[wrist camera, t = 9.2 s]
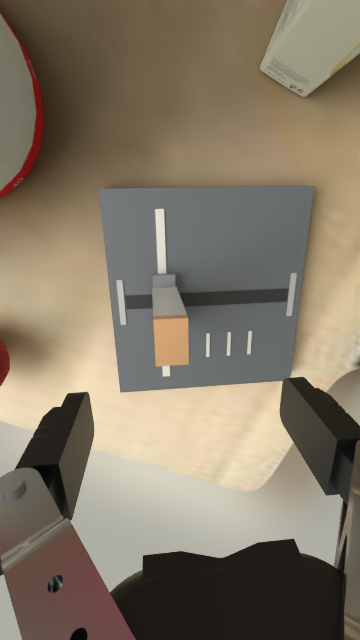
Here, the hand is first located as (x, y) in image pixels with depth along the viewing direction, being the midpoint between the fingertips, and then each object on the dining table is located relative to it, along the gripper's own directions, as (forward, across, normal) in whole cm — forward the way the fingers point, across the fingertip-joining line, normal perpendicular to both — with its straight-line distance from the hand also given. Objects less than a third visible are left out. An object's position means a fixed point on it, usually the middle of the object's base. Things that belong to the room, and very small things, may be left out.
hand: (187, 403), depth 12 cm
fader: (+14, 0, 0) cm, 14 cm away
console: (+16, -3, 0) cm, 16 cm away
